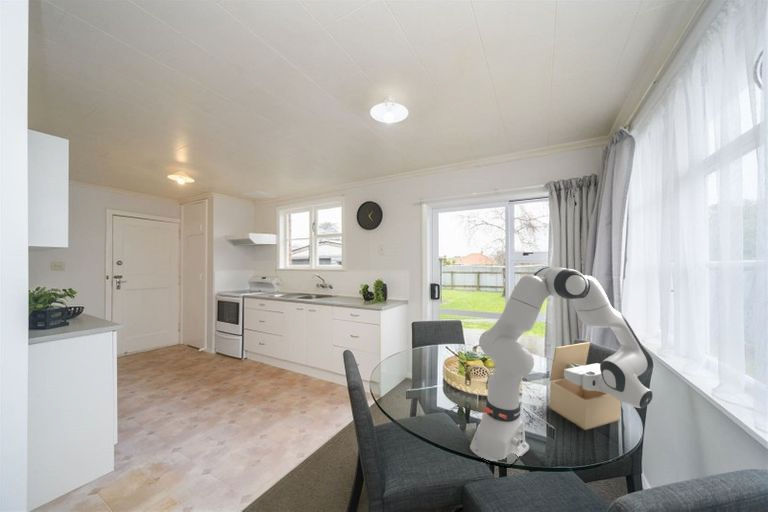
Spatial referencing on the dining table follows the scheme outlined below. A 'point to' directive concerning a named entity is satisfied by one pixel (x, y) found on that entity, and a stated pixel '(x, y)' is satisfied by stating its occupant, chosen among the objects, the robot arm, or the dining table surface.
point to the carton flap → (568, 358)
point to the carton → (583, 405)
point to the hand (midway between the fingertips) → (570, 365)
